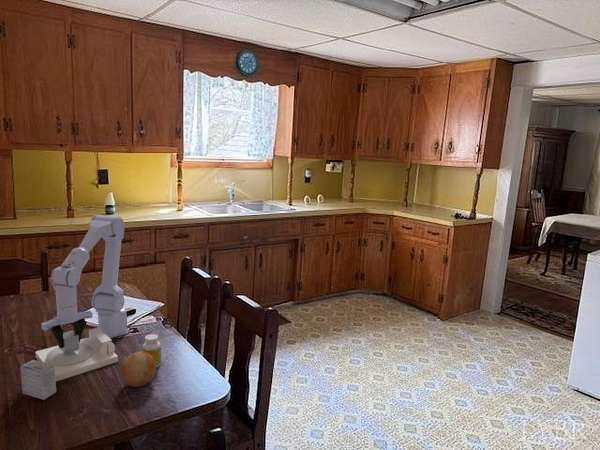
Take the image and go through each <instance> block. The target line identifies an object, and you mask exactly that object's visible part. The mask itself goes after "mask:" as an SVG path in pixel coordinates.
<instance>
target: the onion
mask: <svg viewBox="0 0 600 450" xmlns="http://www.w3.org/2000/svg"><path fill="white" fill-rule="evenodd" d="M156 369H157V367H156V364H155V361H154V359H153V357H152V356H151V355H150V354H149V353H147V352H144V351H143V350H142V351H140V350H139V351H136V352H133V353H131V354H129V355H128V356H126V357H125V359H124V360H123V362H122V364H121V366H120V375H121V379H122V381H123V382H124V383H125V384H126V385H127V386H129V387H131V388H139V387H142V386H145V385H147V384H148V383H150V382H151V381H152V379H154V376H155V375H156Z"/></svg>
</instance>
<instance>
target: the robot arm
mask: <svg viewBox="0 0 600 450" xmlns="http://www.w3.org/2000/svg"><path fill="white" fill-rule="evenodd" d="M125 227H126V222H125V221H124V219H123V218H122V217H121V216H114V215H103V214H94V215H93V216H92V217H91V219H90V220H89V222H88V231H87V232H86V234H85V236H84V238H83V239H82V241H81V243H80V244H79V246H78V247H75V248H73V249H72V250H71V251H70V252H69V254H68V255H67V256H66V258H65V259H64V261H63V262H62V263H61V265H60V266H58V267H56V268H54V269H52V271H51V274H50V277H49V282H50V283H51V285H52V286H53V288H52V289H53V291H55V301H56V304H55V305H56V317H54V318H52V319H50V320H47V321H44V322H41V330H43V331H44V332H46V331H48V330H49V329H50V332H51V333H52V334H53V336H54V338H55V339H56V342H57V346H59V347H60V348H63V345H64V344H63V333H65V330H64V329H63V326H64V325H67V324H73V325H72V326H73V331H74V332H76V333H77V334H78V335H79V343H80V340H81V338H82V335H83V332H84V329H85V328H86V326H87V320H86V319H93V311H91V310H85V311H79V312H78V295H77V294H78V293H77V285H78V284H79V283H80V280H81V275H82V273H83V268H84V267H85V265H86V264H87V263H88V261H89V260H90V252H91V250H93V249H94V247H95V246H96V245H97V244H98V243H99V241H100V239H101V238H102V239H103V240H104V241H105V245H104V246H105V247H104V255H103V264H102V276H101V284H100V285H99V286H97V287H96V288H95V289H94V293H93V296H92V297H91V305H92V308H93V309H94V310H95V312H96V313H97V324H98V325H97V326H98V327H97V328H99V329H100V330H101V331H102V332H103V333H105V334H106V335H107V336H108V337H109V338H110V339H113V338H115V337H120V336H123V335H126V334H129V331H128V315H127V311H126V309H125V308H124V305H125V298H124V295H125V294H124V289H122V288H121V287H120V286H119V285H118V279H119V271H120V269H119V268H120V258H121V249H122V240H123V239H124V235H125Z"/></svg>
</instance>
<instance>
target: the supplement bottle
mask: <svg viewBox="0 0 600 450" xmlns="http://www.w3.org/2000/svg"><path fill="white" fill-rule="evenodd" d="M161 347H162V345H161V342H160V341H159V335H158V334H153V333H151V334H147V335H145V337H144V343H143V345H142V351H144V352H147V353H149V354H150V355H151V356H152V357H153V359H154V361H155V364H156V368H158V367H160V366H161V363H162V357H161V355H162V351H161V349H162V348H161Z"/></svg>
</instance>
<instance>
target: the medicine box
mask: <svg viewBox="0 0 600 450" xmlns="http://www.w3.org/2000/svg"><path fill="white" fill-rule="evenodd" d="M19 370H20V382H21V389H22V394H23V395H26V396H29V397H33V398H36V399H40V400H43V401H44V400H46V399H47V398H49V397H51V396H53V395H54V394H55V393H57V381H55V369H54V365H52V364H48V363H45V362H41V361H38V360H37V359H31V360H30V361H28V362H25V363H23V364H22V365H21V366H20V367H19Z"/></svg>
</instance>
